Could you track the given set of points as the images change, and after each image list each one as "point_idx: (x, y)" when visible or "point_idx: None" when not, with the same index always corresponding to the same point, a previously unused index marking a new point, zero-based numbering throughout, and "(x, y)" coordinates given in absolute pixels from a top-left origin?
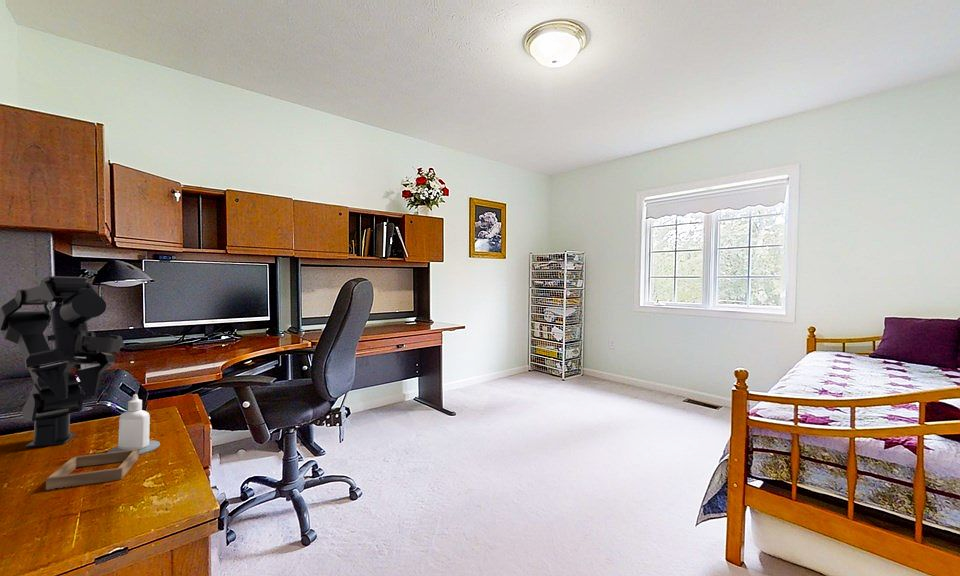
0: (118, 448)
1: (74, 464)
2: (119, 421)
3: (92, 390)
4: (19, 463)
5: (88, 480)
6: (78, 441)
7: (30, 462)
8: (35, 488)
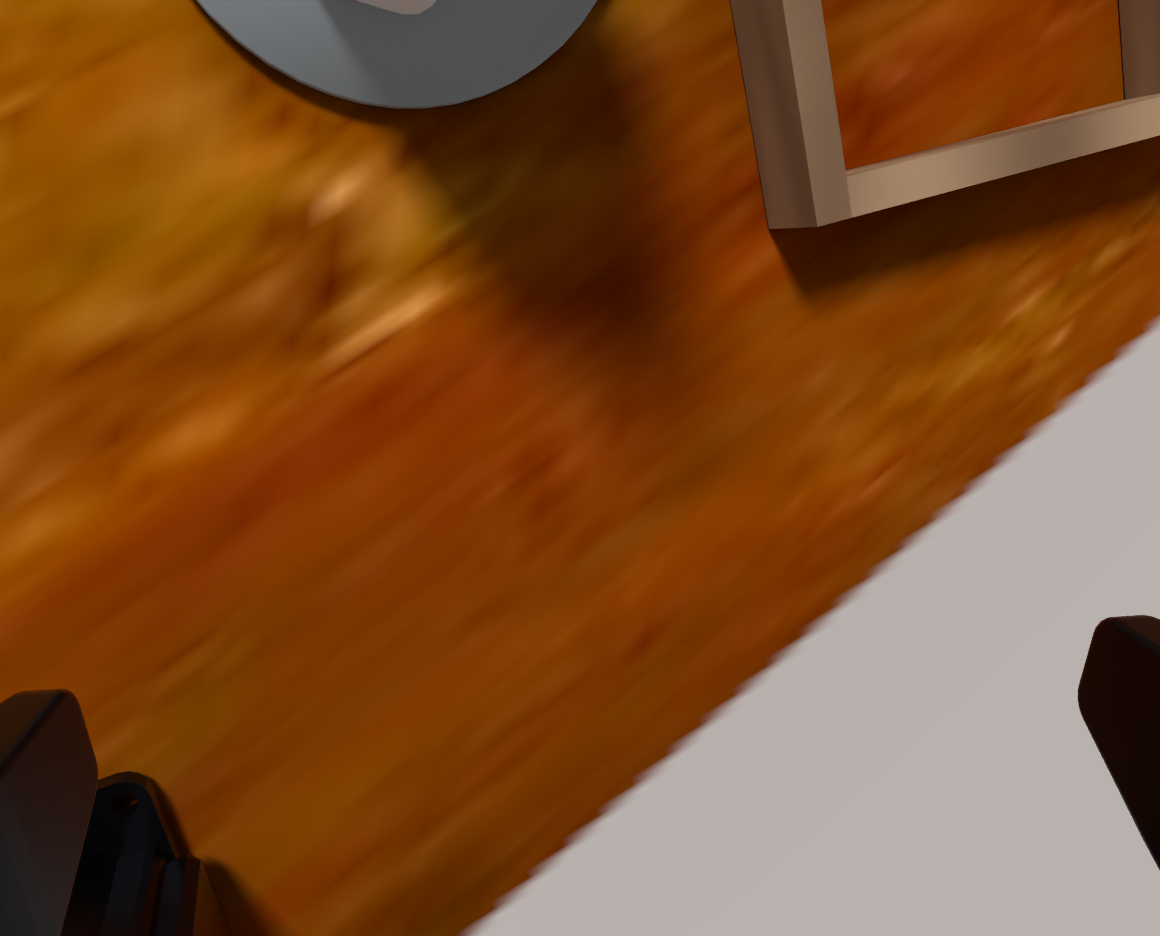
0: (399, 27)
1: (860, 169)
2: None
3: (5, 846)
4: (614, 735)
5: None
6: None
7: (606, 667)
8: (1103, 225)
